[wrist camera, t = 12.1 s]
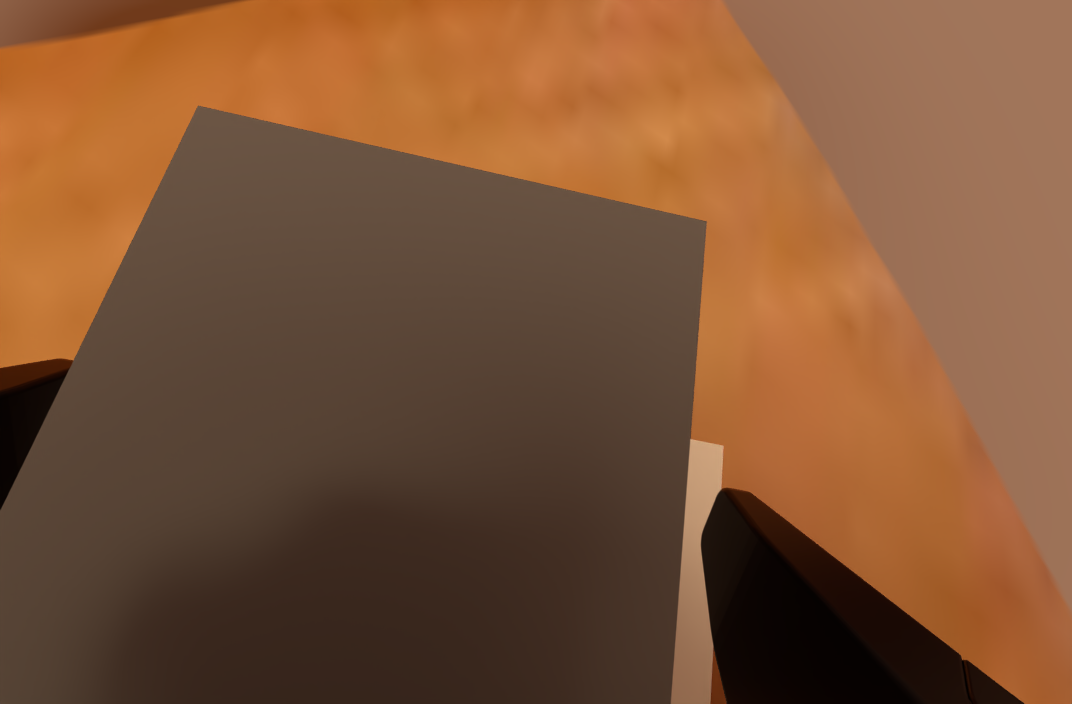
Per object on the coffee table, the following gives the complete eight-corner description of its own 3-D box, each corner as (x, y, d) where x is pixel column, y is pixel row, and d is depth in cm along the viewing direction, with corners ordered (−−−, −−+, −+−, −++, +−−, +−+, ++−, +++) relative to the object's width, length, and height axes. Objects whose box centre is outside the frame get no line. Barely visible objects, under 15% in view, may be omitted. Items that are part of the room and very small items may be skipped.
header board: (685, 742, 17) (765, 792, 13) (83, 641, 16) (-46, 659, 12) (703, 455, 20) (772, 420, 16) (198, 355, 19) (128, 288, 15)
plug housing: (507, 658, 16) (664, 826, 4) (298, 621, 15) (-99, 704, 4) (541, 455, 18) (708, 219, 6) (356, 418, 17) (196, 103, 6)
